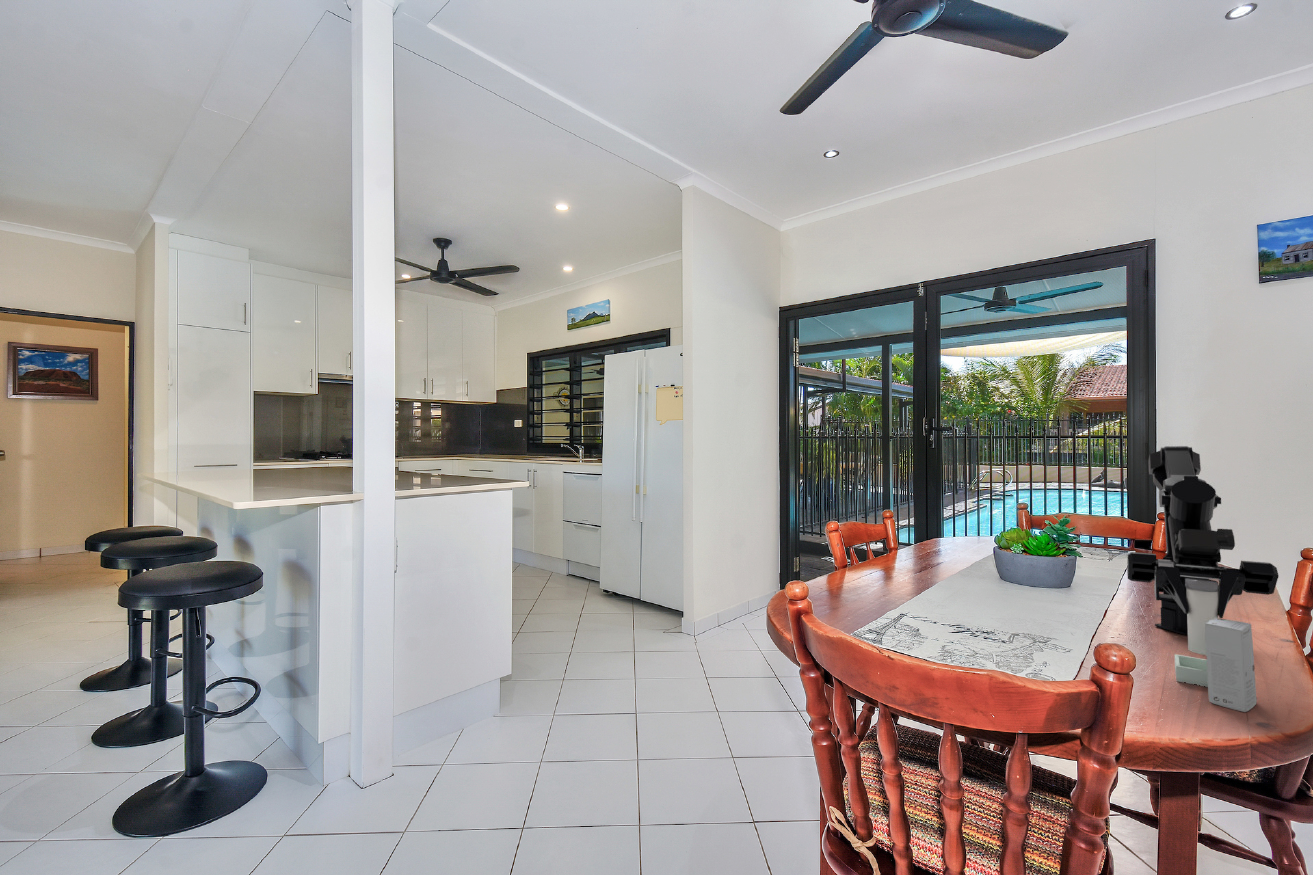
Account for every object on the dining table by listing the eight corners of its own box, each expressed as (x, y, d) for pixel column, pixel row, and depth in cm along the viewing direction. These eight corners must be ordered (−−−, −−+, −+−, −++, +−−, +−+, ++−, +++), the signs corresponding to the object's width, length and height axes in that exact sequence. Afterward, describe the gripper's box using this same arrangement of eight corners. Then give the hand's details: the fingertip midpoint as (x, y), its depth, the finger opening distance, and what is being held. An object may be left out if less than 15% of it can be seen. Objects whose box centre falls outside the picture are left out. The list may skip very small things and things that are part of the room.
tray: (1174, 668, 100) (1174, 654, 100) (1232, 678, 95) (1232, 663, 95) (1176, 680, 94) (1175, 665, 94) (1238, 692, 89) (1237, 677, 89)
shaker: (1200, 646, 97) (1198, 577, 97) (1227, 655, 93) (1225, 582, 93) (1180, 648, 96) (1178, 578, 97) (1206, 656, 92) (1204, 583, 93)
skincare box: (1247, 713, 82) (1245, 630, 83) (1205, 702, 86) (1203, 623, 87) (1257, 702, 86) (1255, 623, 86) (1217, 692, 90) (1214, 616, 90)
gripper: (1126, 508, 104) (1132, 579, 95) (1273, 514, 93) (1295, 595, 84) (1125, 544, 110) (1130, 615, 101) (1262, 554, 99) (1282, 634, 90)
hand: (1203, 614), depth 94 cm, fingers closed on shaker, 4 cm apart
